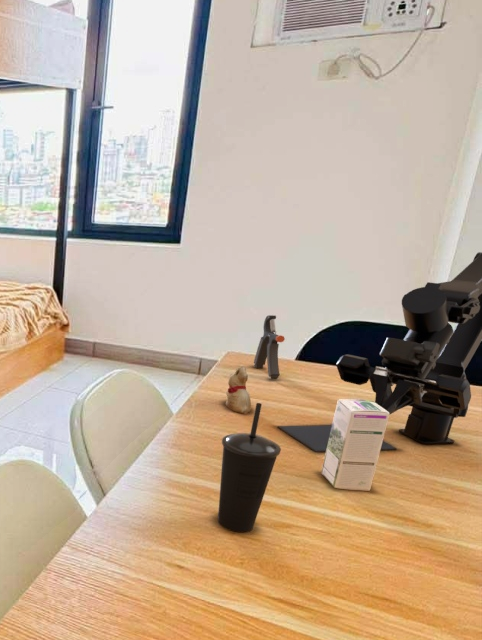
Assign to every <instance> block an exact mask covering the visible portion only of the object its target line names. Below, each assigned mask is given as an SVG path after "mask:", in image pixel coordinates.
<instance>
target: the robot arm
mask: <svg viewBox="0 0 482 640" xmlns="http://www.w3.org/2000/svg"><path fill="white" fill-rule="evenodd" d="M401 307H402V312H403V319H404V322H405V327H406V328H408V331H407V333H406V335H404V337H403V339H400V338H394V337H386V339H385V341H384V343H383V345H382V347H381V349H380V351H379V356H380V357H382V360H381V365H382V366H377V365H375V367H373V366H370V363H369V359H368V358H366V357H362V356H357V355H353V354H348V353H347V354H344V355H341V356H340V357H339V359H338V360H337V361H336V363H335V366H336V369H337V371H338V375H339V377H340V380H341V381H343V382H346V383H349V384H353V385H358V386H362V385H365V384H367V383H368V382H370V386H371V390H372V392H374V393H375V397H374V398H375V399H374V402H375V403H376V404H378V405H379V406H381V407H382V408H384V409H385V410H386V411H388V412H389V413H390V414H389V416H391V415H392V414H394V413H395V412H397V411H399V410H401V409H403V408H405V407H411V410H410V413H409V414H408V415H407V419H406V423H405V427H404V428H399V429H398V432H399V433H400V434H402V435H404V436H406V437H408V438H410V439H412V440H414V441H416V442H418V443H420V444H422V445H440V444H443V445H444V444H447V445H448V444H455V440H454V439H452V438H450V437H449V436H450V432H451V429H452V426H453V423H454V420H455V419H457V418H465V417H466V416H467V412H468V409H469V404H470V402H471V399H472V391H471V383H470V382H469V380H468V379H467V375H466V372H465V371H466V368H467V367H468V366H469V363H470V362H471V360H472V358H473V356H474V355H475V353H476V351H477V349H478V348H479V346H480V344H481V343H482V252H481V251H478V252H477V253H476V254H475V255H474V257H473V259H472V261H471V262H470V263H469V264H468V265H467V266H466V267H465V268H464V269H463V270H461V271H460V272H459V273H458V274H457V275H456V276H455V277H454V278H453V279H451V280H450V281H449V280H448V281H444V282H443V281H442V282H438V283H437V282H426V284H425V285H424V286H421V287H417V288H414V289H412V290H411V291H408V292H407V293H406V294H404V295H403V296H402V299H401ZM451 323H452V324H453V323H454V324H456V326H455V327H454V328H453V326H452V324H451ZM383 366H385V367H383ZM393 386H394V389H392V387H393Z"/></svg>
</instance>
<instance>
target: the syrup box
mask: <svg viewBox="0 0 482 640" xmlns="http://www.w3.org/2000/svg"><path fill="white" fill-rule="evenodd" d="M336 401H337V402H336V406H335V411H334V415H333V418H332V423H331V425H332V427H331V432H330V436H329V441H328V445H327V449H326V452H325V454H324V459H323V463H322V467H321V471H320V474H321V475H322V476H323V477H324V478H325V479H326V480H327V482H328V483H329V484H330V485H331V486H332V487H333V488H335V489H340V490H351V491H364V492H365V491H368V492H370V491H371V488H372V484H373V480H374V476H375V473H376V469H377V465H378V461H379V457H380V453H381V451H382V450H381V446H382V442H383V441H384V437H385V434H386V429H387V425H388V423H389V417H390V415H391V414H390V413H389V412H388V411H386V410H385V409H384V408H382V407H381V406H379V405H378V404H376V403H375V400H371V399H370V400H369V399H359V398H343V399H340V398H339V399H337V400H336ZM389 414H390V415H389Z"/></svg>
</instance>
